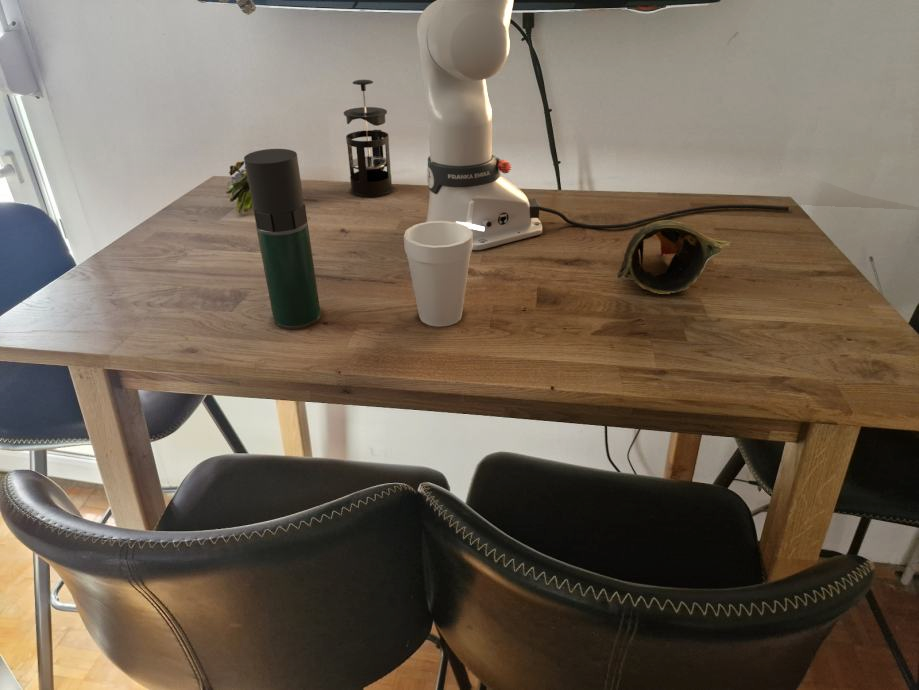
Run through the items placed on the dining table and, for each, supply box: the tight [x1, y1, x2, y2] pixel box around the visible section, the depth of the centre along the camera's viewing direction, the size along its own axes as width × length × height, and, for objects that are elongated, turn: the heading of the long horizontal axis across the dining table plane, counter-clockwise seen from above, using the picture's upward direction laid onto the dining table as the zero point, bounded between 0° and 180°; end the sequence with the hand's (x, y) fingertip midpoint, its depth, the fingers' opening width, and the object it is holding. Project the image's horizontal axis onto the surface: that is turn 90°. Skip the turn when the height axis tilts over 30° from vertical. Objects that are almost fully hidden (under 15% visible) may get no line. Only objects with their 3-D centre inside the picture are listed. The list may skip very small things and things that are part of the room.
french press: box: [343, 79, 394, 199], centre depth 138 cm, size 12×9×23 cm
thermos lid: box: [243, 148, 308, 232], centre depth 85 cm, size 7×7×9 cm
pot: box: [616, 219, 734, 295], centre depth 104 cm, size 17×11×18 cm
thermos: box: [255, 220, 322, 331], centre depth 91 cm, size 7×7×17 cm
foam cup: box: [403, 221, 473, 328], centre depth 92 cm, size 10×9×13 cm
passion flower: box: [225, 160, 253, 216], centre depth 134 cm, size 11×11×12 cm
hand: (239, 6), depth 87 cm, fingers open, 8 cm apart
